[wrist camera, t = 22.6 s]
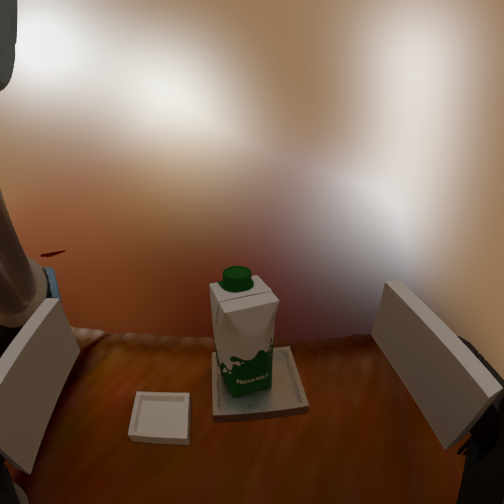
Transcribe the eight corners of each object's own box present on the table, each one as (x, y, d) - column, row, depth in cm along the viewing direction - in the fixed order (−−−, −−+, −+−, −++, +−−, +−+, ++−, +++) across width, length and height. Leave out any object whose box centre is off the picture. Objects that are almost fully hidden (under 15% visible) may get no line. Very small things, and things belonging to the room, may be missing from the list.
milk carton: (258, 356, 51) (259, 260, 43) (279, 389, 43) (287, 288, 35) (213, 367, 48) (202, 269, 40) (229, 404, 40) (219, 302, 32)
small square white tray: (132, 441, 32) (127, 434, 31) (140, 398, 40) (136, 391, 39) (189, 444, 33) (187, 438, 32) (191, 400, 41) (189, 392, 40)
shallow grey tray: (214, 422, 37) (212, 415, 36) (213, 360, 51) (212, 352, 50) (307, 412, 39) (309, 405, 38) (288, 354, 52) (289, 346, 51)
